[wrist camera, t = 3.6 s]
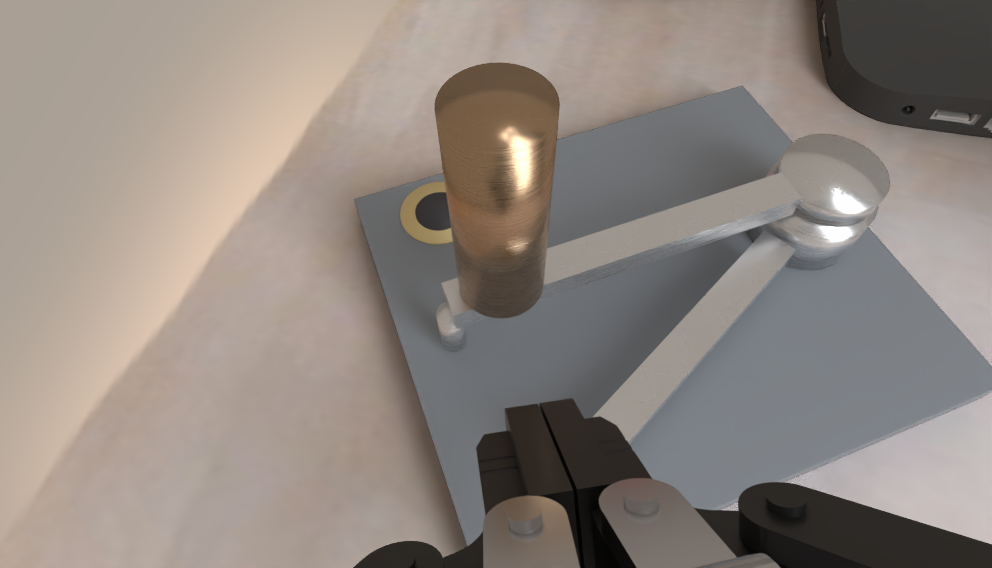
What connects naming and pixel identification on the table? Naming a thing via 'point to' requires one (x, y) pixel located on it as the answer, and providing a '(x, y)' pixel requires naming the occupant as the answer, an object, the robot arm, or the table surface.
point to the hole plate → (674, 321)
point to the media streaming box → (911, 61)
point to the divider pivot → (725, 311)
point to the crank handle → (551, 271)
